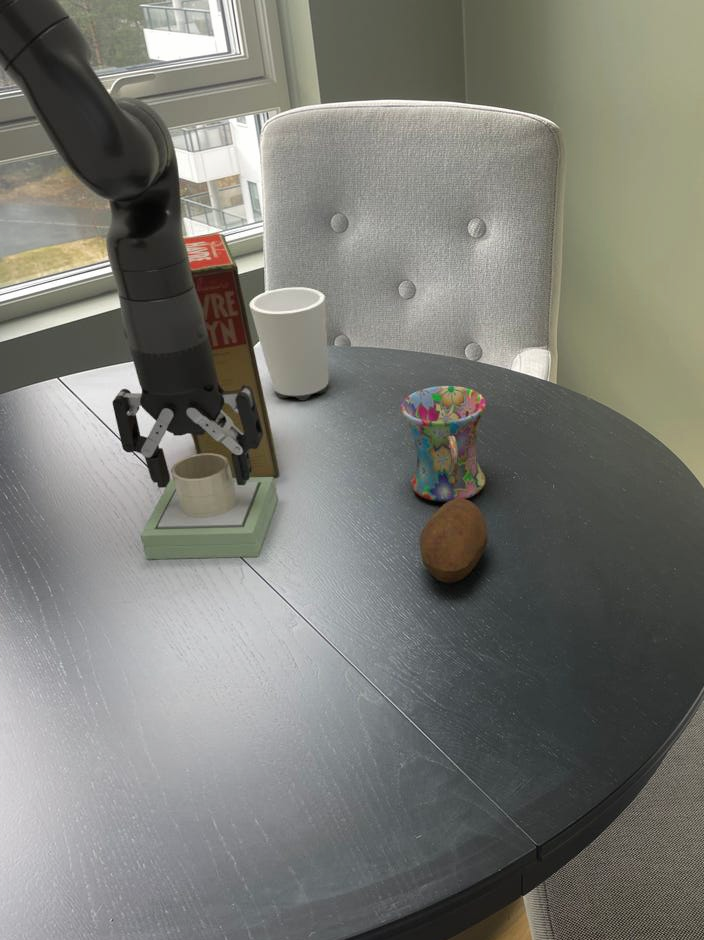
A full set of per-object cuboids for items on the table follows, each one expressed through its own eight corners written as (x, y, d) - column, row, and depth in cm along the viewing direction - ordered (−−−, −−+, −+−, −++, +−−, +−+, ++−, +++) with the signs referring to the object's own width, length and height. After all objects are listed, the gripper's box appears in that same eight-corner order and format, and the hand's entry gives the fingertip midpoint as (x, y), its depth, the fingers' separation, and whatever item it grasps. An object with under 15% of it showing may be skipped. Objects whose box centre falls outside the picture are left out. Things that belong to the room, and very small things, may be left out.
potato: (414, 600, 95) (409, 541, 91) (429, 537, 104) (424, 480, 100) (483, 601, 95) (480, 541, 90) (491, 538, 104) (489, 480, 99)
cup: (252, 391, 136) (235, 300, 128) (310, 370, 141) (296, 281, 133) (292, 412, 130) (276, 318, 122) (351, 389, 135) (339, 298, 127)
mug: (404, 474, 115) (396, 390, 109) (481, 465, 116) (477, 381, 110) (417, 526, 106) (409, 438, 100) (500, 516, 107) (497, 428, 101)
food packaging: (193, 443, 124) (143, 240, 108) (266, 430, 126) (227, 229, 111) (203, 491, 114) (149, 276, 98) (282, 477, 116) (242, 263, 101)
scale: (146, 559, 103) (139, 535, 101) (175, 502, 112) (169, 479, 111) (258, 556, 103) (253, 532, 101) (278, 499, 112) (273, 476, 110)
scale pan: (160, 537, 103) (157, 526, 102) (181, 494, 110) (179, 484, 109) (244, 535, 103) (241, 524, 102) (260, 492, 110) (258, 481, 109)
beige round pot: (174, 518, 103) (164, 481, 101) (188, 490, 108) (179, 453, 105) (230, 517, 103) (221, 479, 100) (242, 488, 108) (234, 452, 105)
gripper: (248, 319, 97) (275, 464, 107) (107, 323, 97) (148, 467, 107) (232, 348, 91) (262, 499, 101) (82, 352, 91) (127, 502, 101)
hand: (203, 483), depth 104 cm, fingers open, 8 cm apart
